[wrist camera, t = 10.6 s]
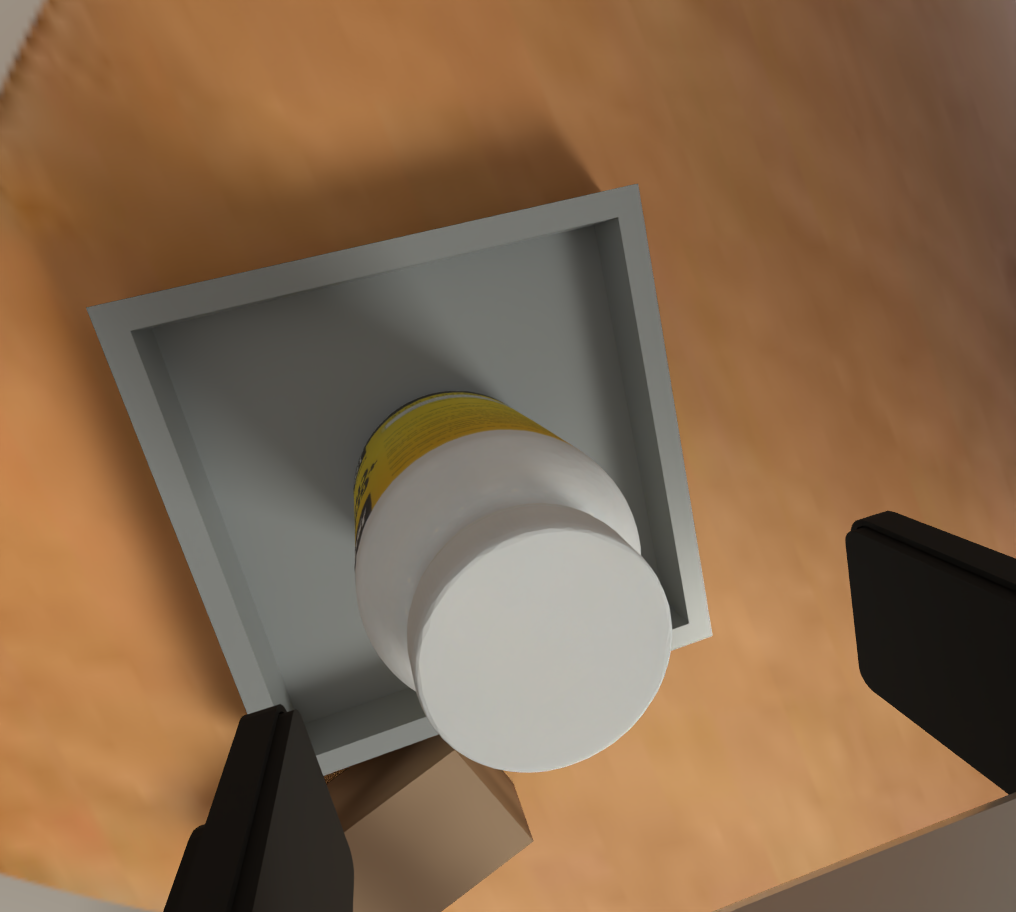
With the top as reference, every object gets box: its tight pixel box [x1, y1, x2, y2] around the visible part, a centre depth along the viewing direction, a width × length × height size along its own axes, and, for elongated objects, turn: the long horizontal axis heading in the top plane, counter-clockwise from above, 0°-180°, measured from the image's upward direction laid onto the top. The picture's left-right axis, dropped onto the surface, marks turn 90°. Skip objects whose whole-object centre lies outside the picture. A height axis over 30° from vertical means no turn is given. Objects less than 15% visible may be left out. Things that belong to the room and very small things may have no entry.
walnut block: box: [326, 734, 533, 912], centre depth 24 cm, size 8×5×3 cm, turn 123°
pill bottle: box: [353, 391, 672, 772], centre depth 17 cm, size 6×6×12 cm
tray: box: [86, 184, 712, 776], centre depth 22 cm, size 16×16×3 cm
